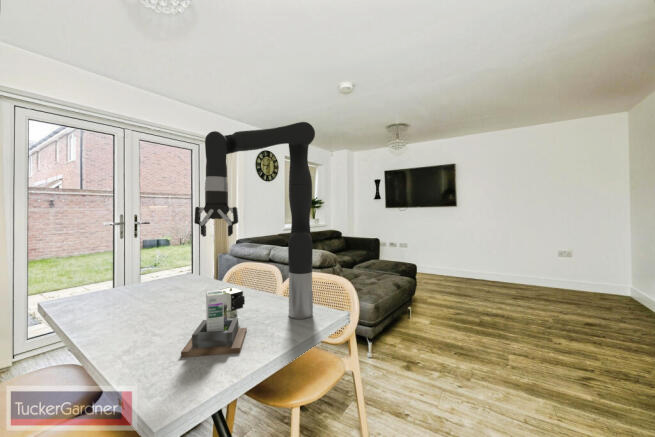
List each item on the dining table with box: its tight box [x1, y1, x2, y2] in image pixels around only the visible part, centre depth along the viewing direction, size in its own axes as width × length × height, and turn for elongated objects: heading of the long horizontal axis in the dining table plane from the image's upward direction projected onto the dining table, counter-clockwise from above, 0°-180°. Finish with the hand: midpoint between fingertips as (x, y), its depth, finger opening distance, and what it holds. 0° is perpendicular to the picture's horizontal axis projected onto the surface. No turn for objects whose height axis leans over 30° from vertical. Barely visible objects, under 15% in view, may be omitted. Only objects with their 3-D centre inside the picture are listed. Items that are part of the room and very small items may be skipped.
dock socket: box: [180, 317, 248, 358], centre depth 85 cm, size 16×14×6 cm
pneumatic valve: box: [219, 286, 246, 319], centre depth 105 cm, size 6×12×12 cm, turn 50°
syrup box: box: [205, 289, 228, 332], centre depth 85 cm, size 6×6×14 cm
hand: (216, 236), depth 98 cm, fingers open, 8 cm apart
